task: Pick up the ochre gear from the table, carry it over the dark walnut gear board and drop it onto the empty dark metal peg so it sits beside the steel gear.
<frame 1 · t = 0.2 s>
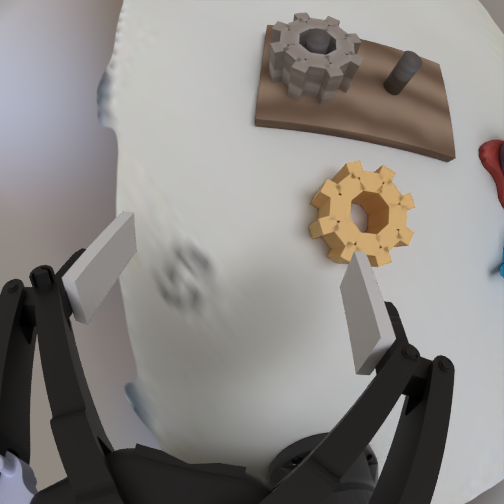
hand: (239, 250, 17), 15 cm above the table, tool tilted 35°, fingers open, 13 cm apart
ochre gear: (352, 220, 32), on the table
gear board: (360, 88, 33), on the table
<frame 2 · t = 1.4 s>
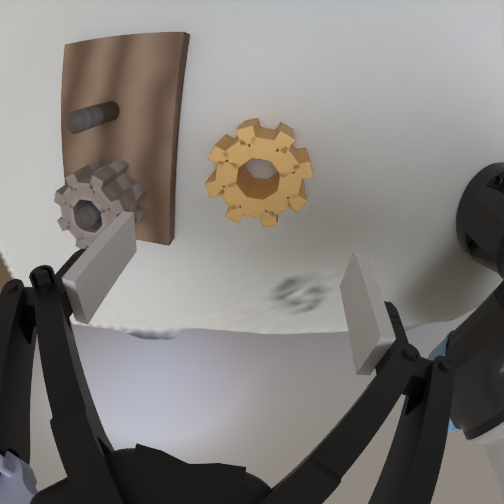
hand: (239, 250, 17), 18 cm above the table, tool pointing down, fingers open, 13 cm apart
ochre gear: (262, 162, 32), on the table
gear board: (118, 138, 32), on the table
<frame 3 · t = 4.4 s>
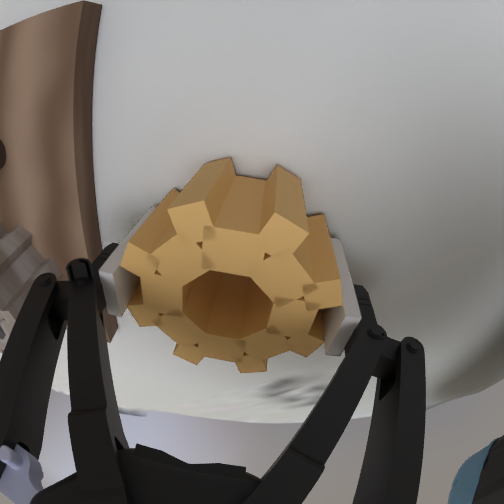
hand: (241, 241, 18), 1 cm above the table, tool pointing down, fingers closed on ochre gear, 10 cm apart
ochre gear: (241, 239, 18), point 1 cm above the table, touching gripper
gear board: (20, 189, 18), on the table
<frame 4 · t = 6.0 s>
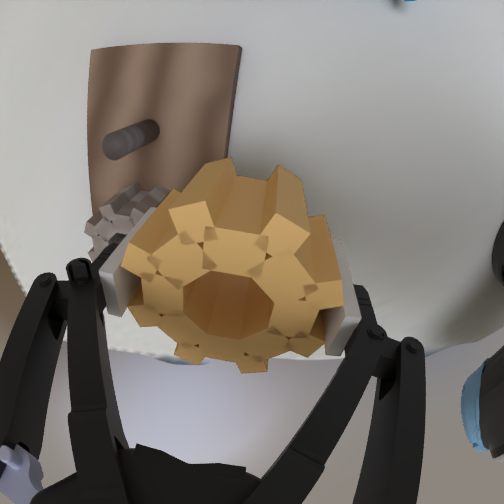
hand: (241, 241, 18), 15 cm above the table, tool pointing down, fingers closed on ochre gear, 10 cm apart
ochre gear: (242, 239, 18), point 14 cm above the table, touching gripper
gear board: (155, 160, 30), on the table
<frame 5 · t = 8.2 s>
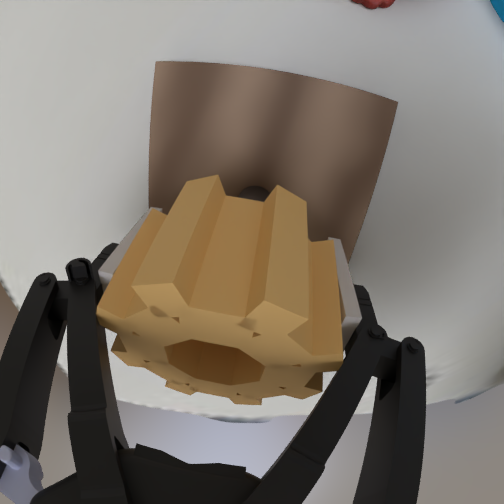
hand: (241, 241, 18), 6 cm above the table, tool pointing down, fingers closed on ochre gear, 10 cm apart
ochre gear: (236, 261, 16), point 8 cm above the table, tilted 11°, touching gripper
gear board: (250, 234, 24), on the table
when the fingers open (3 cm above the table, at t = 9.3 s): ochre gear drops 4 cm, resting on gear board.
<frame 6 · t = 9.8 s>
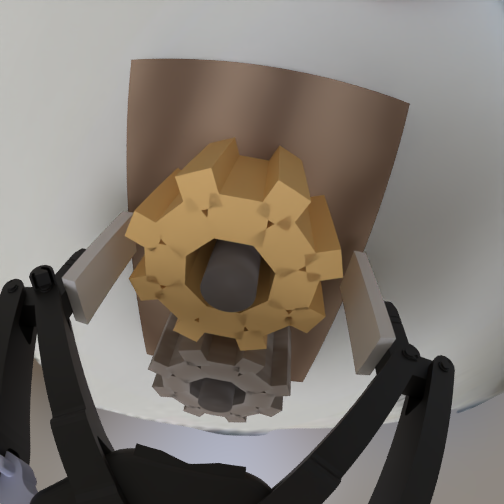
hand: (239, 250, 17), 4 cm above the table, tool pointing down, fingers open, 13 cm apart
ochre gear: (243, 219, 18), point 2 cm above the table, touching gear board
gear board: (242, 251, 22), on the table
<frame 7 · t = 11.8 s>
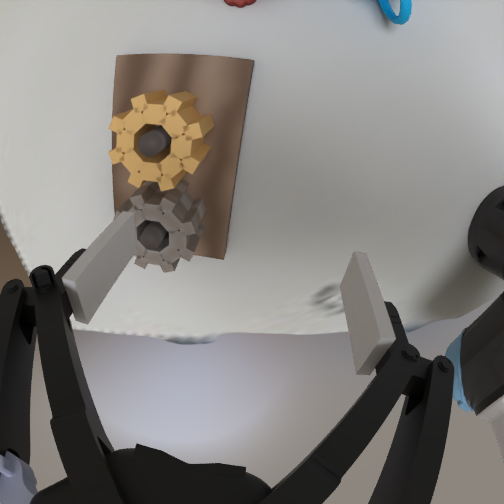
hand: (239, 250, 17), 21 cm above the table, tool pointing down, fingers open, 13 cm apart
ochre gear: (170, 131, 31), point 2 cm above the table, touching gear board
gear board: (174, 156, 35), on the table
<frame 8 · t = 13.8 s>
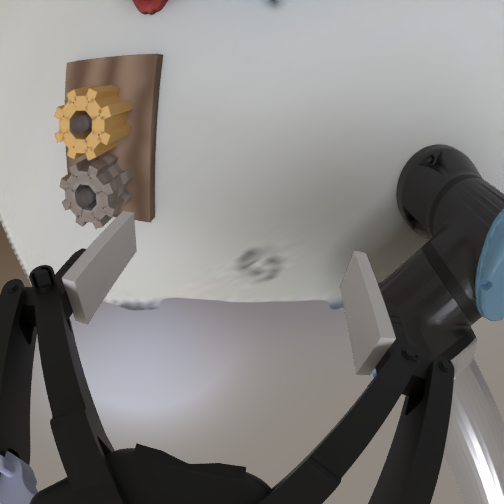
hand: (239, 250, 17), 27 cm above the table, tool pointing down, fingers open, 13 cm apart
ochre gear: (103, 117, 36), point 2 cm above the table, touching gear board
gear board: (110, 137, 40), on the table
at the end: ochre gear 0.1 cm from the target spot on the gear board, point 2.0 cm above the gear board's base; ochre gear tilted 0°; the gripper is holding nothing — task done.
